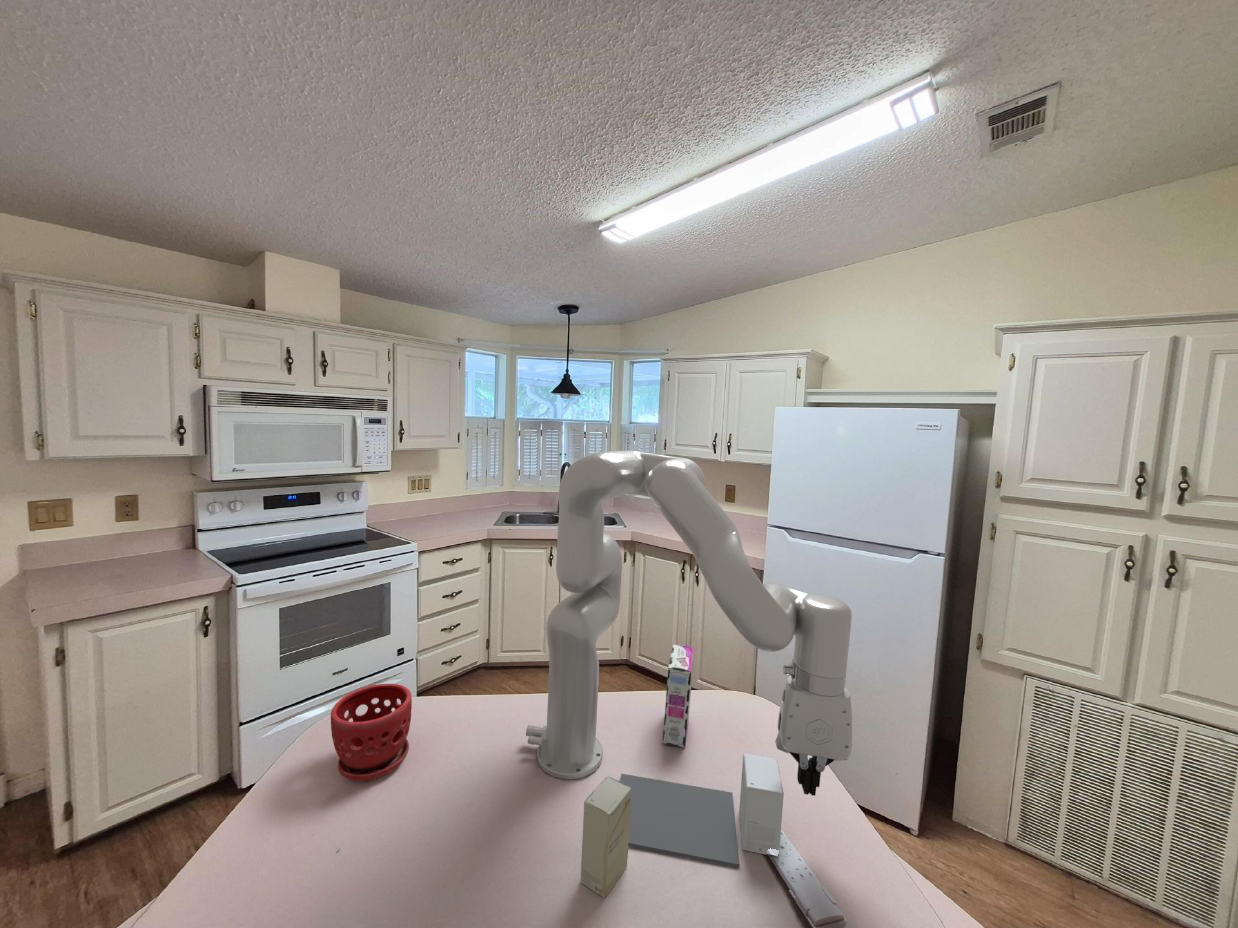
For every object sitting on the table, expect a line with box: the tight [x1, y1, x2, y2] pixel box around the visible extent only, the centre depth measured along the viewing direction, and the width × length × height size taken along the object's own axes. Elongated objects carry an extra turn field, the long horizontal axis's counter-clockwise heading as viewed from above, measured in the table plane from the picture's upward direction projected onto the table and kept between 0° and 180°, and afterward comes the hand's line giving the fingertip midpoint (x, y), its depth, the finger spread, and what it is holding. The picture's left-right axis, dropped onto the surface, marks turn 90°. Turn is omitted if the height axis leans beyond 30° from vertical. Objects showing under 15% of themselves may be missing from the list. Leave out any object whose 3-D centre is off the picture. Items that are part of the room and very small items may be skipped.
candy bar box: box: [661, 644, 695, 749], centre depth 100 cm, size 11×5×16 cm, turn 169°
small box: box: [738, 752, 785, 856], centre depth 76 cm, size 8×6×10 cm
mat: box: [619, 773, 741, 869], centre depth 78 cm, size 20×14×1 cm
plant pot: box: [330, 683, 413, 782], centre depth 86 cm, size 13×13×12 cm
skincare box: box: [580, 775, 631, 898], centre depth 67 cm, size 6×4×12 cm
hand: (807, 787), depth 74 cm, fingers closed
